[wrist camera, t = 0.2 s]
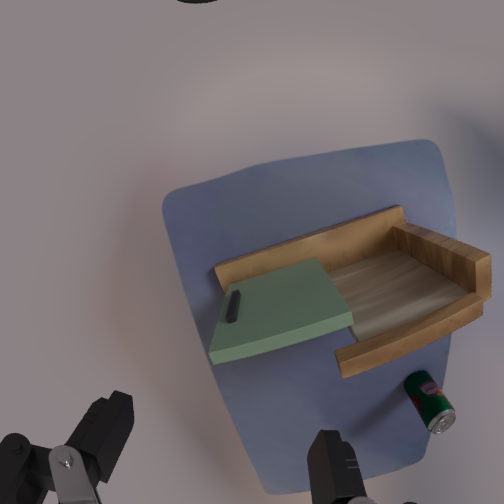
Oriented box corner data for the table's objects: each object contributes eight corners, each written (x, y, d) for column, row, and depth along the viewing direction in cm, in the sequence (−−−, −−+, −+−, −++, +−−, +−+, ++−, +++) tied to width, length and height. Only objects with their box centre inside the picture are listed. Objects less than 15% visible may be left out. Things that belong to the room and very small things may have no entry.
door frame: (215, 264, 36) (173, 346, 18) (397, 204, 34) (498, 232, 15) (237, 318, 38) (219, 425, 20) (408, 261, 35) (497, 322, 17)
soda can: (432, 368, 40) (463, 411, 28) (419, 390, 41) (446, 434, 29) (411, 368, 40) (441, 414, 28) (398, 391, 41) (424, 437, 29)
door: (226, 279, 35) (203, 345, 21) (314, 251, 34) (349, 302, 19) (231, 293, 35) (213, 365, 21) (318, 265, 34) (354, 324, 20)
